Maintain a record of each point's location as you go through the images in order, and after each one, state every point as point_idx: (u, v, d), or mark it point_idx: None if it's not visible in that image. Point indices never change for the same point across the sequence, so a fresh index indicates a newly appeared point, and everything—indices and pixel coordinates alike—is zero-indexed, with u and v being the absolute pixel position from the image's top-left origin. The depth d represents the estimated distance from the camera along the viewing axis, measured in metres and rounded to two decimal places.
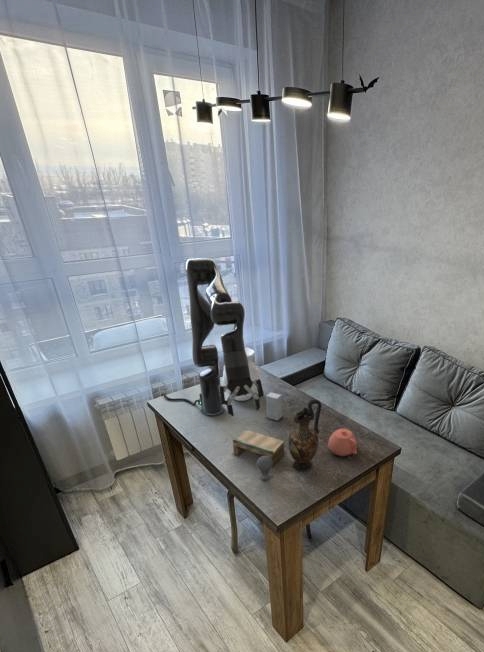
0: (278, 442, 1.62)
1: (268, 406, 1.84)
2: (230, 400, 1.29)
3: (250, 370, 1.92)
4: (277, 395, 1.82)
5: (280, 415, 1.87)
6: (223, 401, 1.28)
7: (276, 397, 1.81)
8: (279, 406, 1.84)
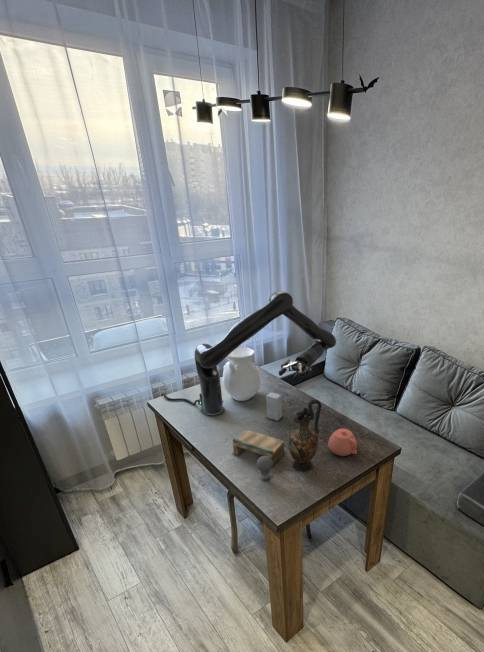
0: (278, 442, 1.62)
1: (268, 406, 1.84)
2: None
3: (250, 370, 1.92)
4: (277, 395, 1.82)
5: (280, 415, 1.87)
6: None
7: (276, 397, 1.81)
8: (279, 406, 1.84)
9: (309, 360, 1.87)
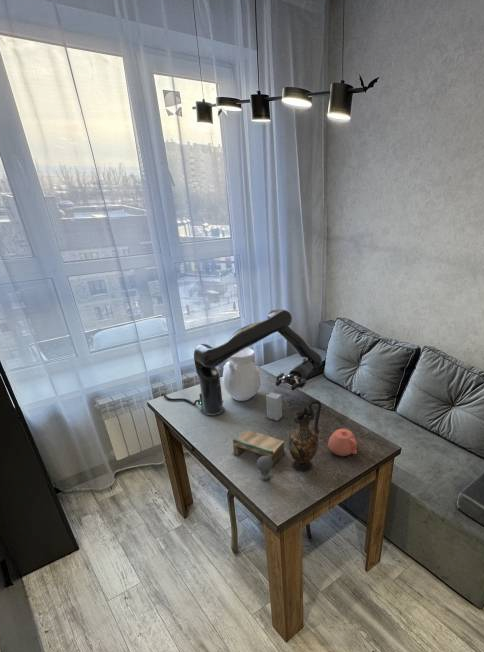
0: (278, 442, 1.62)
1: (268, 406, 1.84)
2: None
3: (250, 370, 1.92)
4: (277, 395, 1.82)
5: (280, 415, 1.87)
6: None
7: (276, 397, 1.81)
8: (279, 406, 1.84)
9: (303, 374, 2.00)
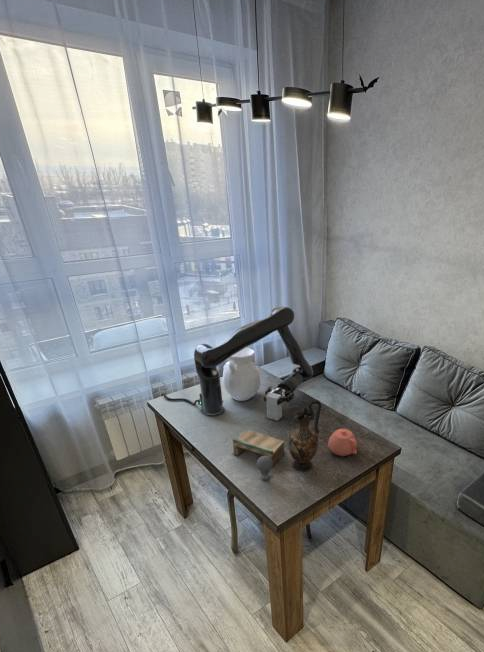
0: (278, 442, 1.62)
1: (268, 406, 1.84)
2: None
3: (250, 370, 1.92)
4: (277, 395, 1.82)
5: (280, 415, 1.87)
6: None
7: (276, 397, 1.81)
8: (279, 406, 1.84)
9: (292, 387, 1.91)
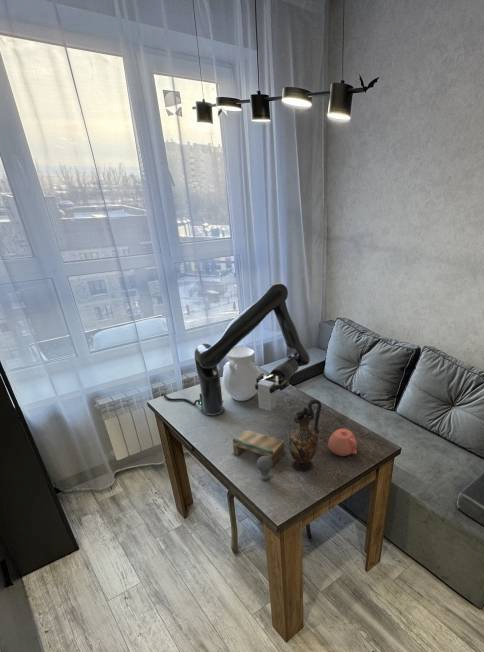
0: (278, 442, 1.62)
1: (260, 395, 1.66)
2: None
3: (250, 370, 1.92)
4: (270, 383, 1.64)
5: (273, 405, 1.69)
6: None
7: (268, 385, 1.62)
8: (272, 395, 1.65)
9: (286, 374, 1.72)
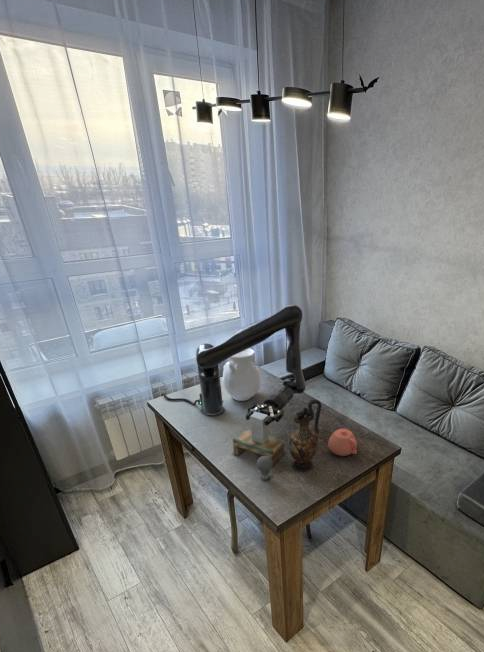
0: (278, 442, 1.62)
1: (252, 428, 1.58)
2: None
3: (250, 370, 1.92)
4: (263, 415, 1.56)
5: (267, 438, 1.61)
6: None
7: (261, 418, 1.54)
8: (266, 428, 1.58)
9: (280, 403, 1.64)
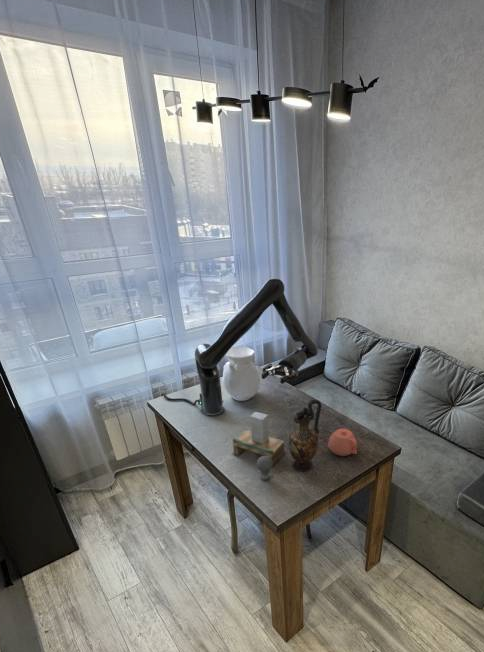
0: (278, 442, 1.62)
1: (252, 428, 1.58)
2: None
3: (250, 370, 1.92)
4: (263, 415, 1.56)
5: (267, 438, 1.61)
6: None
7: (261, 418, 1.54)
8: (266, 428, 1.58)
9: (294, 365, 1.68)
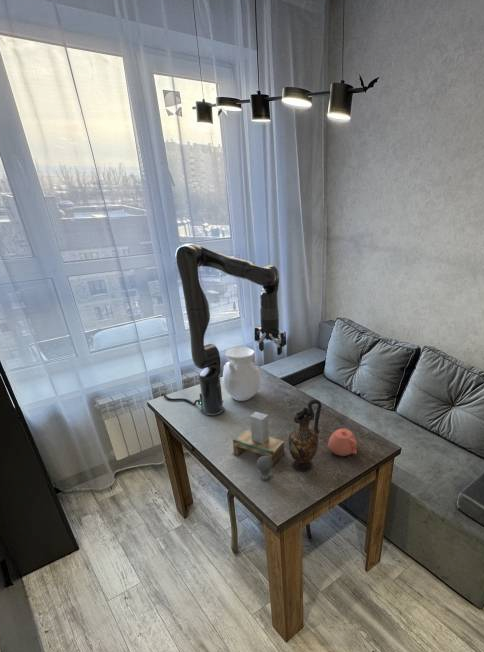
0: (278, 442, 1.62)
1: (252, 428, 1.58)
2: None
3: (250, 370, 1.92)
4: (263, 415, 1.56)
5: (267, 438, 1.61)
6: None
7: (261, 418, 1.54)
8: (266, 428, 1.58)
9: (275, 324, 1.63)
